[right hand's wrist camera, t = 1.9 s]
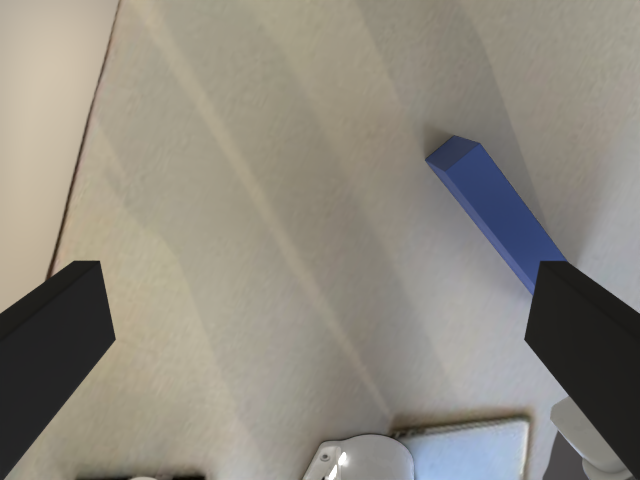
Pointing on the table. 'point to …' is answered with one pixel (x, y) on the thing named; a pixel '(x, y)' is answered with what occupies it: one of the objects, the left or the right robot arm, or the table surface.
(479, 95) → the table surface
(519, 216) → the bar
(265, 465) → the table surface
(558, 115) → the table surface
